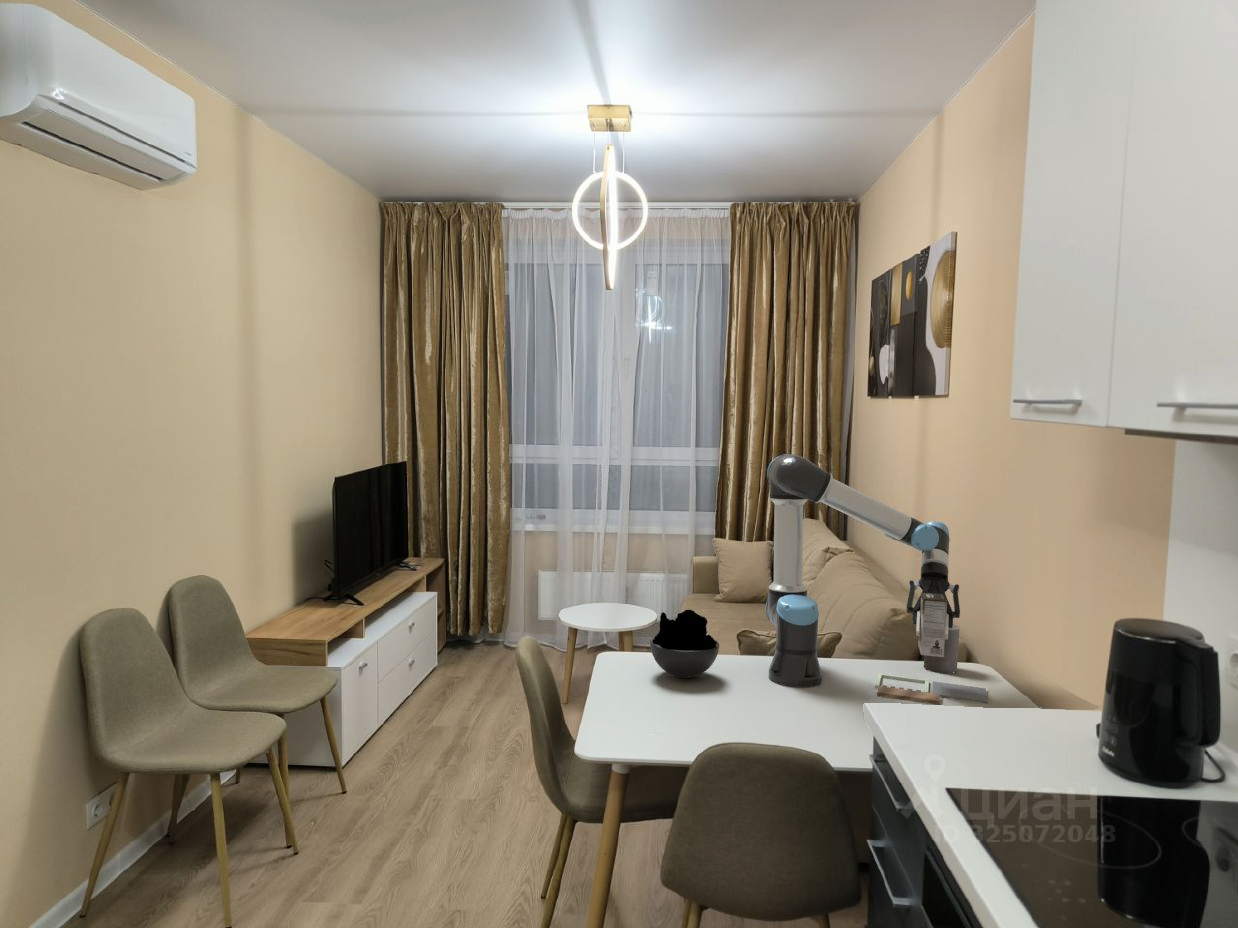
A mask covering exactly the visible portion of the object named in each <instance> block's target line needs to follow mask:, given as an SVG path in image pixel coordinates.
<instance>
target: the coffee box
mask: <svg viewBox="0 0 1238 928" xmlns="http://www.w3.org/2000/svg"><path fill="white" fill-rule="evenodd" d="M920 595H921V605H920V611H919V612H920V627H919V636H918V645H917V646H918V649H919V653H920V655H921V656H924V655H926V656H937V657H944V646H945V628H946V614H947V613H946V612H947V600H946V598H945V596H944V594H935V593H922V592H920Z"/></svg>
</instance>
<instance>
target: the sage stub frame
mask: <svg viewBox="0 0 1238 928" xmlns="http://www.w3.org/2000/svg"><path fill="white" fill-rule="evenodd" d="M882 678H883V679H884V678H885V679H889V678H893V679H892V680H897V679H900V680H899V681H906V682H912V683H918V684H919V683H920V684H924V691H923V692H926V693H929V686H930V685H929V683H930V680H929V679H924V678H915V677H908V676H903V675H901V676H900V675H893V674H886V673H880V672H879V673H877V677H876V680H875V681H876V682H875V684H874V689H878V686H883V687H888V685H886V684H882V685H881V681H882ZM890 688H896V686H893V685H890ZM898 689H905V688H904V687H898ZM907 690H912V691H913V688H907ZM915 691H919V692H922V690H921V689H915Z"/></svg>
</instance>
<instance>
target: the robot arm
mask: <svg viewBox="0 0 1238 928" xmlns="http://www.w3.org/2000/svg"><path fill="white" fill-rule="evenodd" d="M766 473H767V474H766V477H767V481H768V483H769V500H770V501H771V502H773V505H774V512H773V513H774V514H773V515H774V520H773V521H774V522H773V523H774V525H773V526H774V527H773V533H774V534H773V582H771V584H770V585H768V598H767V600H766V602H765V603H766V604H765V613H766V616H767V619H768V620H769V622H770V623H771V624H772V626H774V628H775V630H776V634H775V635H776V636H775V652H774V655H773V657H772V660H771V663H770V665H769V668H768V678H769V679H770V681H772V682H773V683H777V684H780V685H783V686H789V687H794V688H795V687H796V688H807V687H808V688H809V687H816V686H819V685H820V684H822V682H823V672H822V669H821V666H820V662H819V658H818V654H817V653H818V652H817V651H818V648H817V647H818V631H819V629H818V628H819V627H818V626H819V617H820V616H819V615H820V612H819V605H818V603H817V602H816V600H815V599H813V598H811V597H808V587H807V586H806V585H805V584H804V583H803V560H804V558H803V555H804V552H803V549H804V547H803V545H804V540H803V539H804V505H805V503H807V501H810V502H812V503H814V504H819V503H822V504H824V505H827V506H829V507H830V508H833V509H834V510H836V511H839V512H841V513H843V514H845V515H847V516H848V517H851V518H852V519H855V520H856V521H859V522H861V523H864V524H865V525H867V526H870V527H871V528H873V529H875V530H877V531H880V532H881V533H883V534H884V536H886V537H887V538H889V539H891V540H895V541H896V542H899V543H901V544H904V545H906V546H909V547H911V548H914V549H916V550H918V551H921V558H920V559H921V560H920V561H921V562H920V566H921V567H920V579H918V581H914V580H913V579H912V580H909V581H908V583H909V586H908V587H909V593H908V597H907V603H906V613H908V614H911V615H912V621H911V622H912V625H916V627H915V629H916V631H915V633H916V634H915V636H916V637H919V627H920V605H921V594H920V596H919V598H918V599H917V601H916V603H915V604H914V599H915V593H916V590H917V589H918V587H919V589H921V590H922V591H921V593H935V594H944V596H945V598H946V600H947V612H946V628H945V639H947V640H948V628H952V627H953V624H954V619H955V618H956V619H959V618H960V616H961V607H960V600H959V592H960V585H959V584H955V585H954V584H950V582H949V558H950V557H949V555H950V551H949V549H950V541H951V540H950V532H949V531H950V530H949V527H948V526H947V524H945V523H943V522H940V521H934V520H933V521H928V522H926V523H924V522H922V521H920V520H918V519H917V518H914V517H911V516H910V515H908V514H906V513H904V512H902V511H900V510H898V509H896V508H894V507H892V506H890V505H888V504H885V503H884V502H882V501H879V500H877V499H876V498H873V497H871V496H870V495H868V494H865V493H863V492H861V491H859V490H857V489H855V488H853V487H851V486H849V485H847V484H846V483H843V482H841V481H839V480H837V479H835V478H834V477H833V474H832V473H831V472H829V471H826V470H825V469H824V468H821V467H819V466H818V465H817V464H815V463H814V462H812V461H811V460H809V459H807V458H805V457H803V456H801V455H796V454H793V453H792V454H790V453H787V454H785V453H783V454H782V455H779V456H777V457H775V458H774V459H773V460H772V461H771V462H770V463H769V465H768V467H767V471H766ZM948 590H950V593H951V594H952V601H953V608H952V607H951V605H950V602H949V600H948V598H947V595H946V592H947V591H948ZM913 604H914V606H913ZM953 609H954V610H953Z"/></svg>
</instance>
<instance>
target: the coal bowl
mask: <svg viewBox="0 0 1238 928" xmlns="http://www.w3.org/2000/svg"><path fill="white" fill-rule="evenodd" d="M676 615H677V616H676V617H675V619H673V618H672V619H669V618H667V617H668V616H667V614H666V612H663V611H662V612H661V613H660V617H659V618H660V619H659V630H658V633H657V634H656V635H655V636H654V637H652V638H651V639H650V641H649V646H650V647H649V648H650V650H651V655H652V656H653V659H654V661H655V663H656V664H657V665H658V666H659V668H660V669H662V670H663V671H664V672H665V673H668V674H669V675H671V676H674V677H677V678H682V679H683V678H684V679H688V678H694V677H697V676H700V675H701V674H703V673H705V672H706V671H707V670H708V669H710V668H711V667H712V665H713V664H714V662H716V661H715V660H716V658H717V657H718V654H719V650H720V643H719V642H718V641H717V640H716V639H714V638H713V636H711V634H707V633H708V631H707V625H708V619H707V618H706V617H705V616H702V615H700V614H698V613H697V612H695V610H692V609H685V610H683V611H681V612H680V613H677V614H676Z"/></svg>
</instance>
